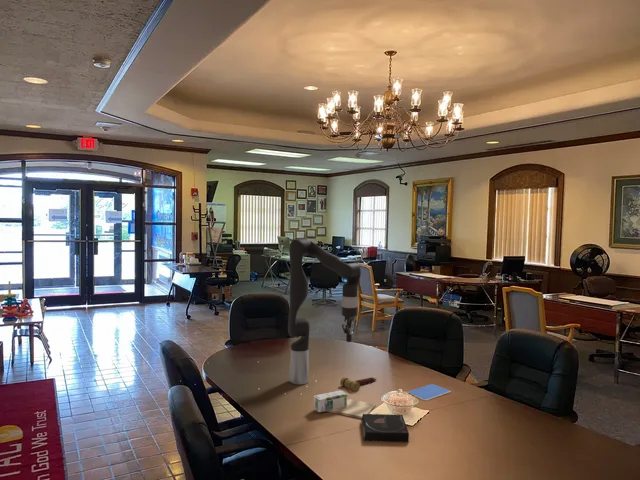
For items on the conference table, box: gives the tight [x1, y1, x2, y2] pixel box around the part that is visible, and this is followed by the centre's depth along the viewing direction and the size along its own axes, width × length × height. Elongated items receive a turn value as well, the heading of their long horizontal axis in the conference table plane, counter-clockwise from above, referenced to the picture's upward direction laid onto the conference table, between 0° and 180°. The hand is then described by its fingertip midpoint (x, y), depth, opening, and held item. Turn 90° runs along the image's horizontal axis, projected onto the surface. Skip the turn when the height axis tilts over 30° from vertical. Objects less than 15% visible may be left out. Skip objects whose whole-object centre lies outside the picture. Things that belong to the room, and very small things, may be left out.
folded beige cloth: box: [326, 398, 377, 420], centre depth 206 cm, size 20×15×1 cm
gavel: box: [340, 377, 377, 392], centre depth 236 cm, size 21×5×10 cm
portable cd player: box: [361, 413, 410, 443], centre depth 184 cm, size 16×17×4 cm
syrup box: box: [313, 390, 348, 413], centre depth 205 cm, size 6×6×14 cm
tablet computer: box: [407, 383, 452, 402], centre depth 226 cm, size 19×13×1 cm, turn 126°
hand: (349, 341), depth 217 cm, fingers closed
